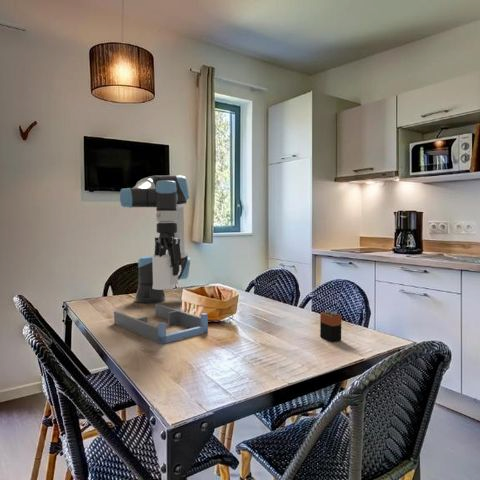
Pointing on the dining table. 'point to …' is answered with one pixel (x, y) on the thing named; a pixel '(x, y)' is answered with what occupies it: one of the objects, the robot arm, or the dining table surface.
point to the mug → (162, 272)
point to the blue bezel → (184, 333)
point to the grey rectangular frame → (150, 330)
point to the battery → (330, 326)
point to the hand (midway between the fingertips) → (167, 282)
